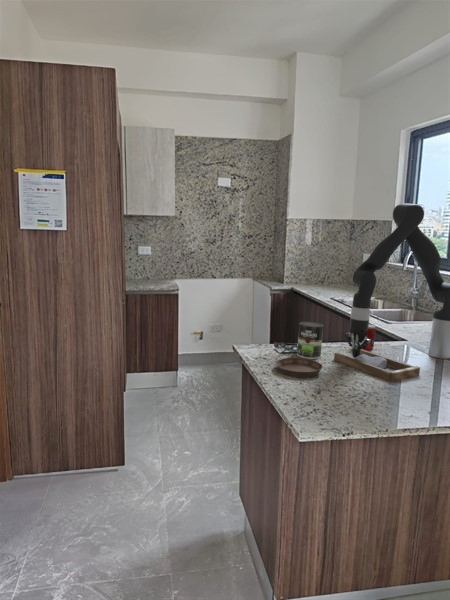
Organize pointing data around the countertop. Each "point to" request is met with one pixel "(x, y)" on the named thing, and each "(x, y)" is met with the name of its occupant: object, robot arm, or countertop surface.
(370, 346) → the canned food
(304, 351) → the coffee can
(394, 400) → the countertop surface
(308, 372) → the plant saucer
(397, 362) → the wooden serving tray
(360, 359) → the stone block
